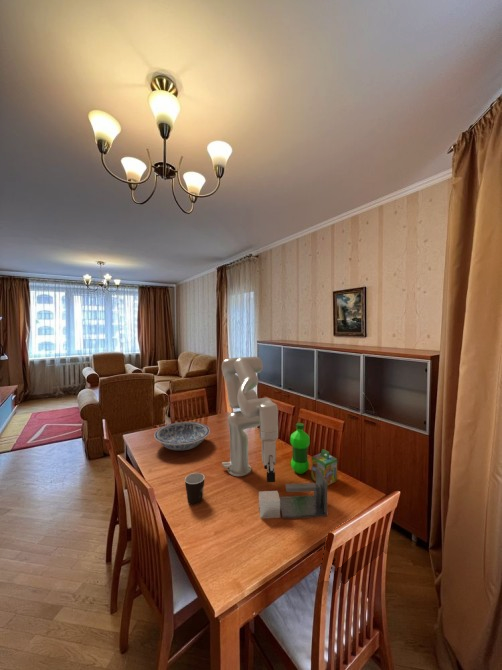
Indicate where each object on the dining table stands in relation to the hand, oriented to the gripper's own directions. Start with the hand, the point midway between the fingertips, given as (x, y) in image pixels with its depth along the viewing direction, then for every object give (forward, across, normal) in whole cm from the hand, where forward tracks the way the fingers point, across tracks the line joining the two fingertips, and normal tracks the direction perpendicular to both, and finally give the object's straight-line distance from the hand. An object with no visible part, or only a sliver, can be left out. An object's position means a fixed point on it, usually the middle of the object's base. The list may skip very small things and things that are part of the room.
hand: (269, 474), depth 110 cm
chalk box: (+16, -22, +30) cm, 40 cm away
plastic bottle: (+16, -31, +20) cm, 40 cm away
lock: (+16, -1, 0) cm, 16 cm away
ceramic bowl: (+15, -65, -48) cm, 82 cm away
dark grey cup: (+16, -12, -31) cm, 37 cm away
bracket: (+16, -3, +14) cm, 21 cm away
